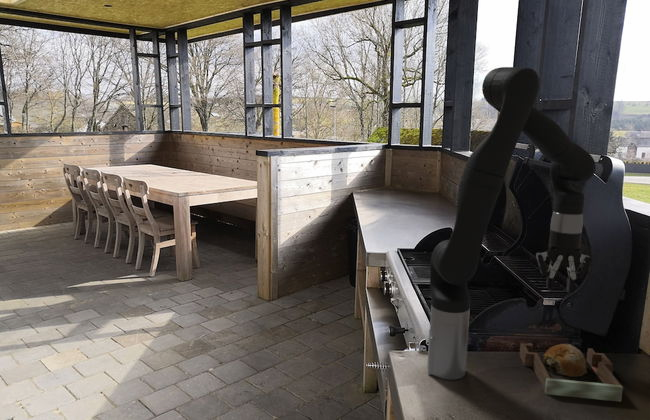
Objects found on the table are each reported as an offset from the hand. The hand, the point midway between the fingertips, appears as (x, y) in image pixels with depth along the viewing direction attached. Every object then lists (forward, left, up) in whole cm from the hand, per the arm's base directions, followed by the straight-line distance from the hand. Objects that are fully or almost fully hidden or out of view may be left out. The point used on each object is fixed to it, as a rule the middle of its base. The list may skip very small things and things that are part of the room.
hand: (559, 290), depth 131 cm
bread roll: (0, -10, -18) cm, 20 cm away
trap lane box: (0, -15, -17) cm, 23 cm away
